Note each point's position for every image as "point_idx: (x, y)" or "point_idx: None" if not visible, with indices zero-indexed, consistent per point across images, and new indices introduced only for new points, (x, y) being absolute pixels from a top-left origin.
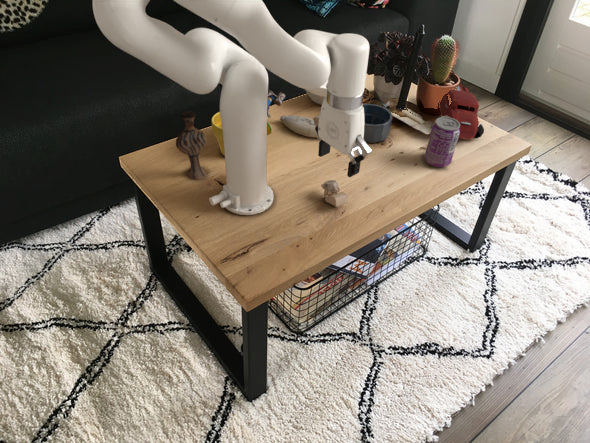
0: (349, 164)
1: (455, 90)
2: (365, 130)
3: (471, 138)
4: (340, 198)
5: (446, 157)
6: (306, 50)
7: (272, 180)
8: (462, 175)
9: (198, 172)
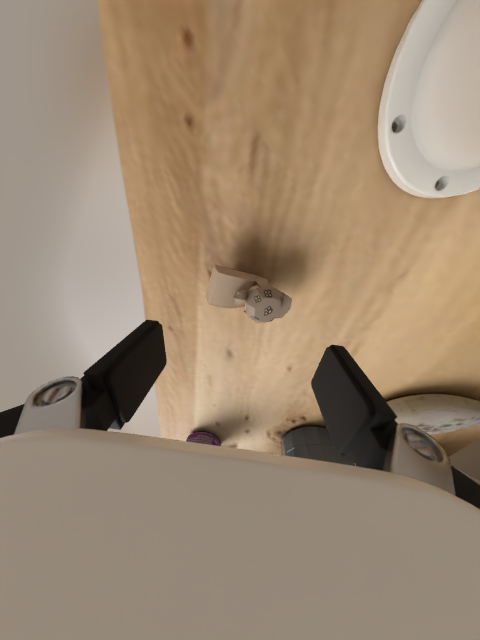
0: (102, 364)
1: None
2: (310, 450)
3: None
4: (213, 284)
5: None
6: None
7: (423, 239)
8: (167, 433)
9: None
